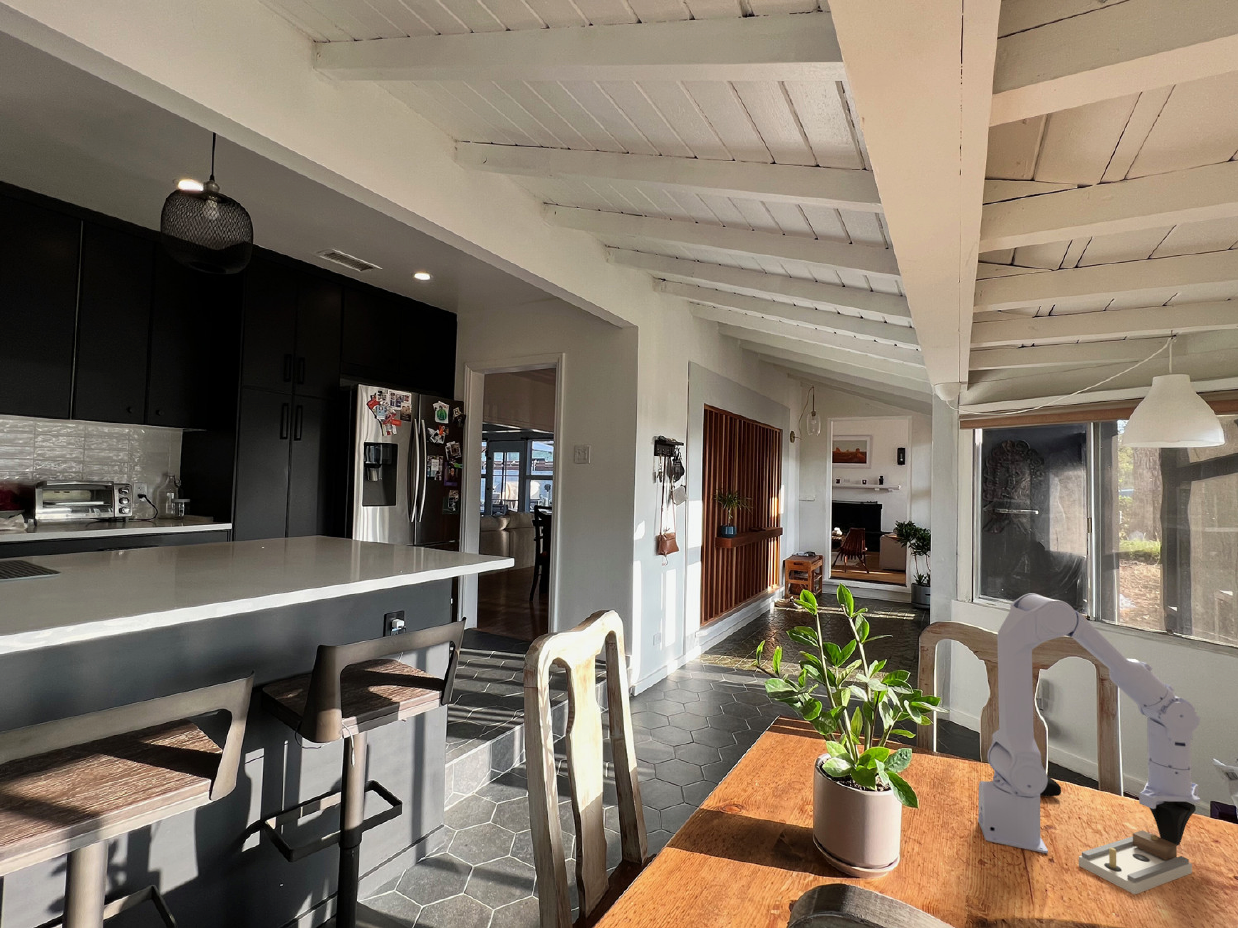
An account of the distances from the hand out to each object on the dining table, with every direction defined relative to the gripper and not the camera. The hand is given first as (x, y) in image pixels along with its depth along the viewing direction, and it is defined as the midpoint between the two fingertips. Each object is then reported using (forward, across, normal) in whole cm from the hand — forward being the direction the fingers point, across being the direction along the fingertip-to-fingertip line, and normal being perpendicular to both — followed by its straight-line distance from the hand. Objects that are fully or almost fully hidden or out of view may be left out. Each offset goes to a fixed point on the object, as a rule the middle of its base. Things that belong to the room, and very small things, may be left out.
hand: (1170, 842), depth 106 cm
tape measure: (+3, +3, +24) cm, 25 cm away
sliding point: (+1, -5, 0) cm, 5 cm away
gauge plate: (+2, -11, 0) cm, 12 cm away
